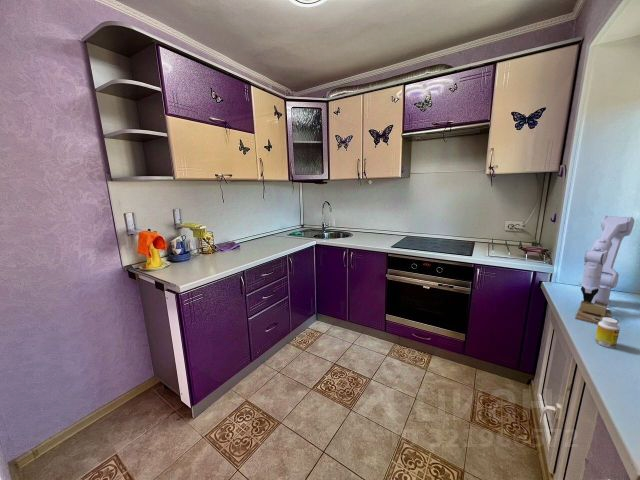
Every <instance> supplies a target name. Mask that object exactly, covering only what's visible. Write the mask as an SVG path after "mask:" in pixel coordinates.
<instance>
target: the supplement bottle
mask: <svg viewBox="0 0 640 480" xmlns="http://www.w3.org/2000/svg"><path fill="white" fill-rule="evenodd" d="M618 323H619V321H618V320H617V319H615V318H612V317H610V318H607V317H604V318H602V321H601V322H599V323H598V325H597V328H596V333H595V339H594V341H595V343H597V345H600V346H602V347H605V348H609V349H610V348H612V349H613V348H615V347H617V342H618V339H619V335H620V331H621V327H620V326H619V325H618Z"/></svg>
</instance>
